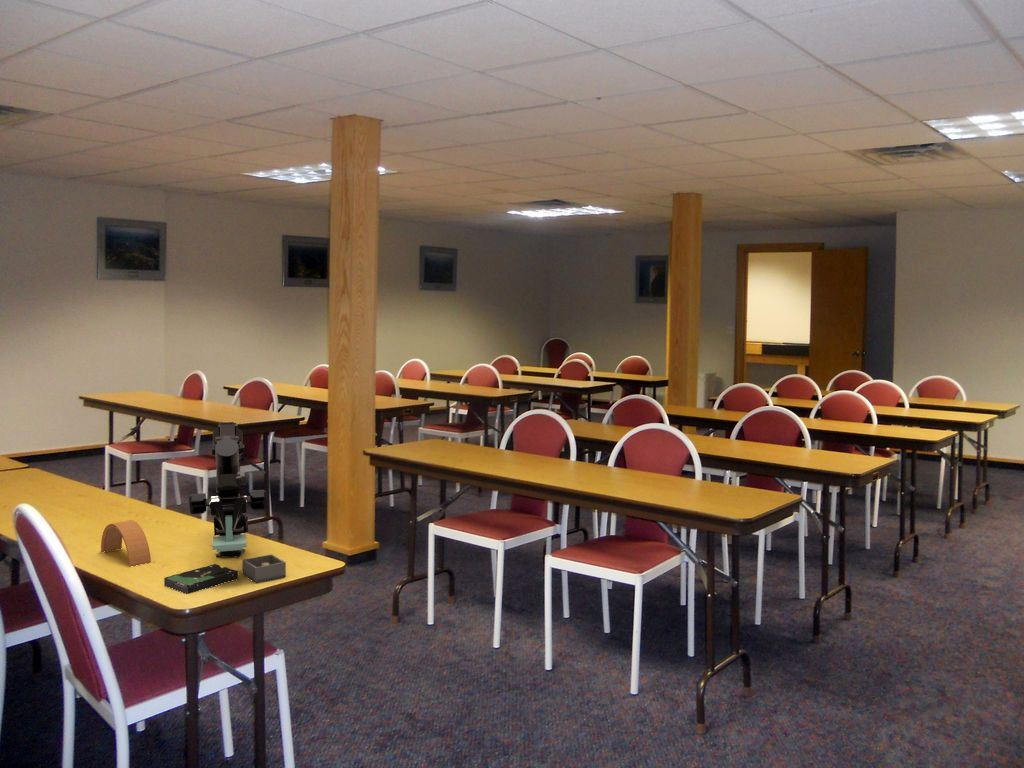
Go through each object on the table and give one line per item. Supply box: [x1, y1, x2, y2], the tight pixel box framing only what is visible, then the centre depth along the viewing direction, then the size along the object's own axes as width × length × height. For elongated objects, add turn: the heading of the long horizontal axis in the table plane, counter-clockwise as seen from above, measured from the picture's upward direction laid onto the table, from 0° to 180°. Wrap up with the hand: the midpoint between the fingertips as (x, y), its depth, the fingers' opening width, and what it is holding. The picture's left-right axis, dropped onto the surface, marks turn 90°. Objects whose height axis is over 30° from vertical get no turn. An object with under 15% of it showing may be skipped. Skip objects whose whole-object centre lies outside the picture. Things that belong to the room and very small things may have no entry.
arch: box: [100, 519, 152, 568], centre depth 242 cm, size 6×20×10 cm, turn 45°
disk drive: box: [163, 563, 239, 595], centre depth 221 cm, size 10×3×15 cm
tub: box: [241, 554, 287, 584], centre depth 226 cm, size 9×8×4 cm
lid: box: [211, 515, 247, 553], centre depth 221 cm, size 9×8×8 cm
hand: (228, 530), depth 219 cm, fingers closed on lid
